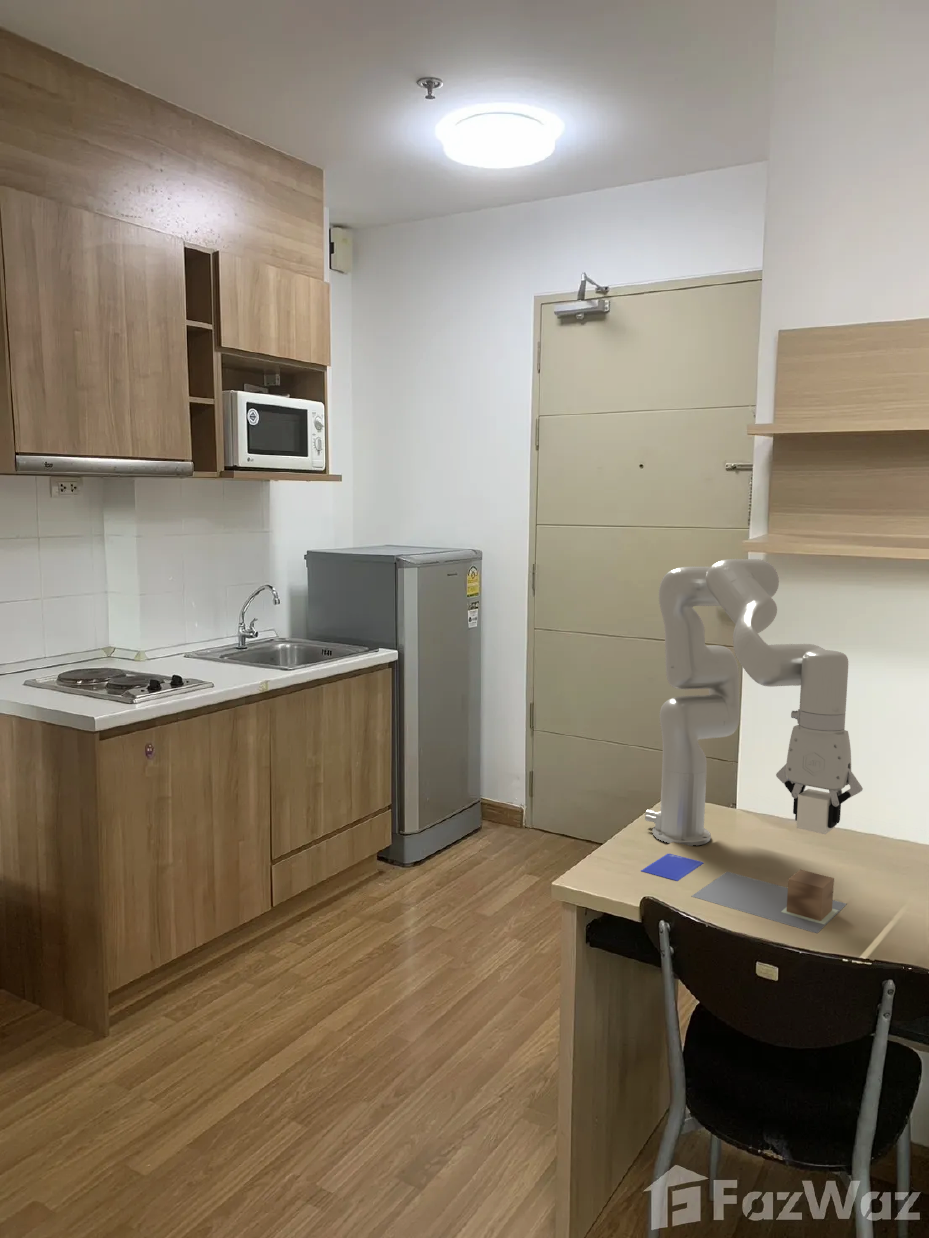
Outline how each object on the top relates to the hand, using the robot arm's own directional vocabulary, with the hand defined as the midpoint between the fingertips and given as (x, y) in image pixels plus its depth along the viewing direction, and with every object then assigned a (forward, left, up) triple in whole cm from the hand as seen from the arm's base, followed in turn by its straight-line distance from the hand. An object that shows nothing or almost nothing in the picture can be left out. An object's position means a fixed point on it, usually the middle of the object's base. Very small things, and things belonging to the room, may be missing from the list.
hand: (816, 821), depth 163 cm
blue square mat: (-29, +3, -18) cm, 34 cm away
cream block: (0, 0, -1) cm, 1 cm away
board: (-8, 0, -17) cm, 19 cm away
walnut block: (0, 0, -17) cm, 17 cm away
